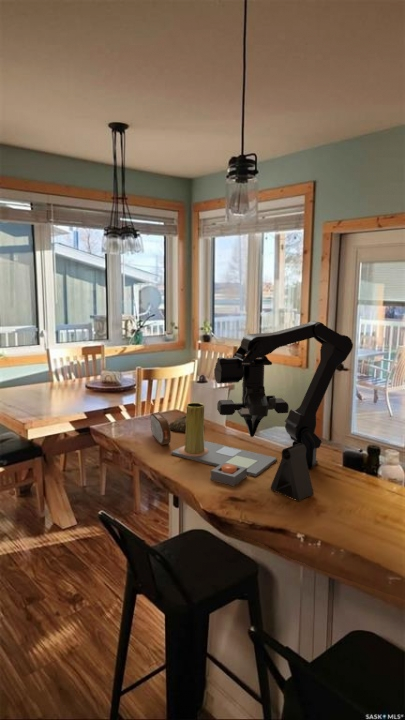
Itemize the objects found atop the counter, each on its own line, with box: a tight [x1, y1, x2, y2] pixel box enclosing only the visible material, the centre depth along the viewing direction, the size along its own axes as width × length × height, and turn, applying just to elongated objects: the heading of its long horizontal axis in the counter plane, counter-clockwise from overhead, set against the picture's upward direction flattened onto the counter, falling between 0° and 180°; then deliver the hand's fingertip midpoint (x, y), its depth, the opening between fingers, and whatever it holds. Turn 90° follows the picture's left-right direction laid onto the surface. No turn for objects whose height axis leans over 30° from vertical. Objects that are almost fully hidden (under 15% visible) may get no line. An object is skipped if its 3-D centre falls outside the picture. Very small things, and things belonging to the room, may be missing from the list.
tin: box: [149, 411, 172, 445], centre depth 153 cm, size 15×3×8 cm, turn 22°
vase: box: [184, 402, 205, 454], centre depth 141 cm, size 6×6×14 cm
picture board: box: [170, 440, 278, 477], centre depth 140 cm, size 28×14×1 cm, turn 58°
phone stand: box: [269, 443, 315, 502], centre depth 118 cm, size 9×6×12 cm, turn 41°
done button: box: [222, 464, 237, 474], centre depth 125 cm, size 4×4×2 cm
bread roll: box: [169, 414, 186, 433], centre depth 168 cm, size 13×12×5 cm
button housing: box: [210, 462, 247, 487], centre depth 126 cm, size 7×7×2 cm
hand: (251, 436), depth 130 cm, fingers closed
